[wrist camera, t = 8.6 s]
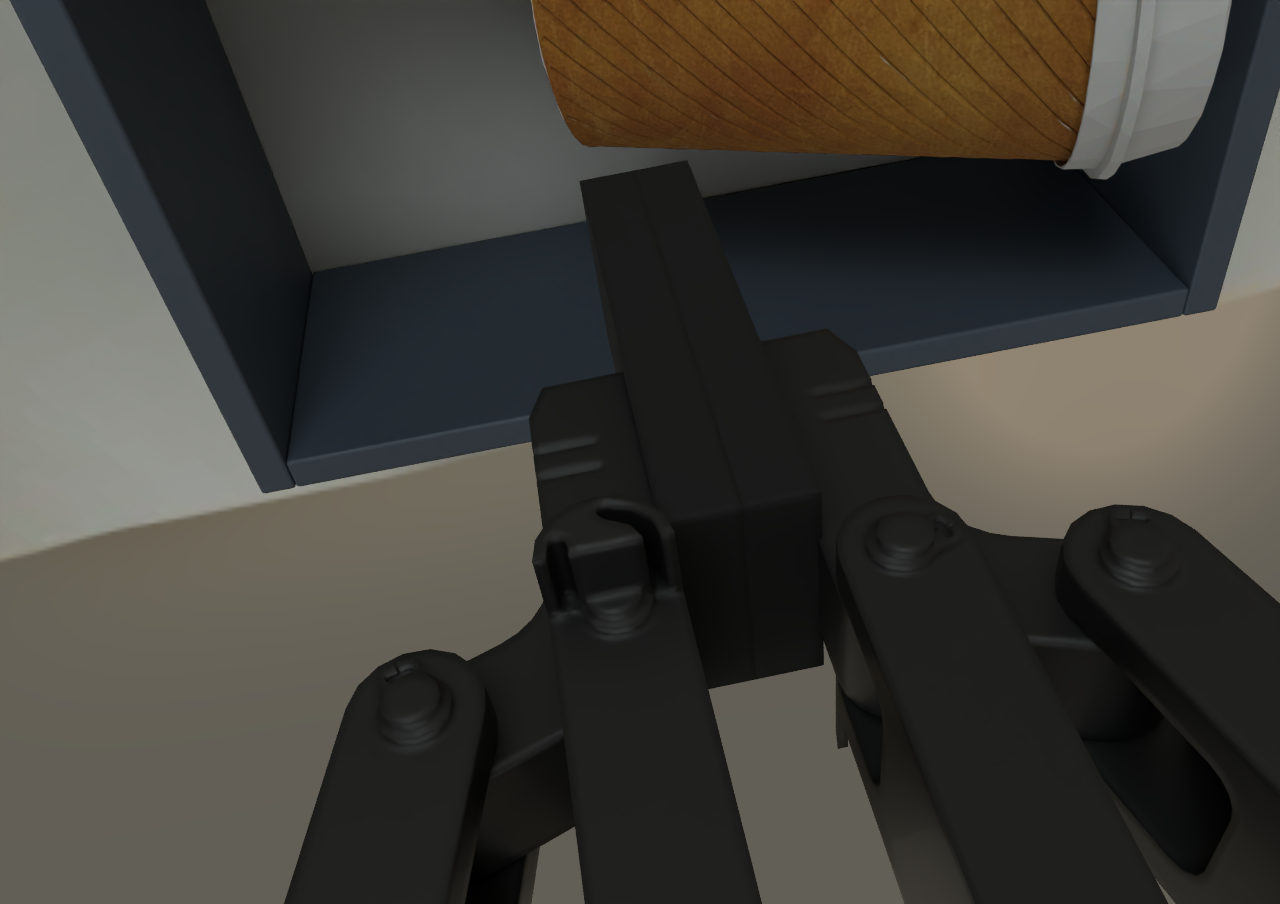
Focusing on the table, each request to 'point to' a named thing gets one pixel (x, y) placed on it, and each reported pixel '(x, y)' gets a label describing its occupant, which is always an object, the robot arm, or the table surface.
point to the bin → (564, 265)
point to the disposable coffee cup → (886, 75)
